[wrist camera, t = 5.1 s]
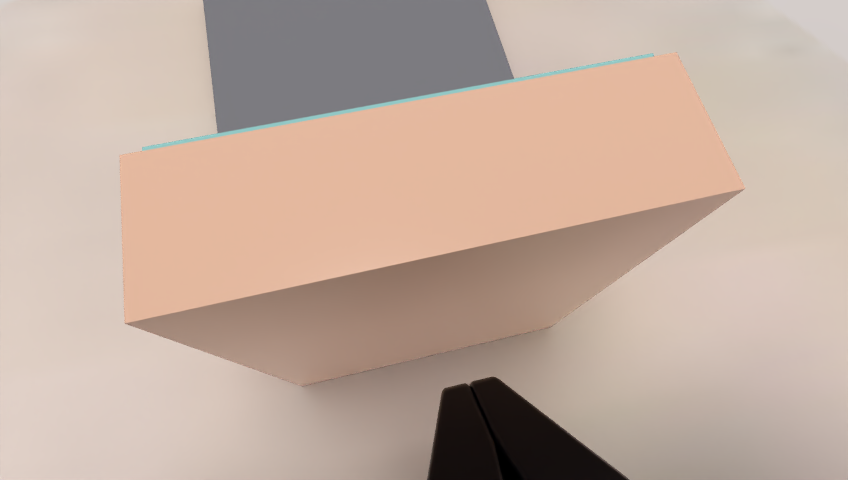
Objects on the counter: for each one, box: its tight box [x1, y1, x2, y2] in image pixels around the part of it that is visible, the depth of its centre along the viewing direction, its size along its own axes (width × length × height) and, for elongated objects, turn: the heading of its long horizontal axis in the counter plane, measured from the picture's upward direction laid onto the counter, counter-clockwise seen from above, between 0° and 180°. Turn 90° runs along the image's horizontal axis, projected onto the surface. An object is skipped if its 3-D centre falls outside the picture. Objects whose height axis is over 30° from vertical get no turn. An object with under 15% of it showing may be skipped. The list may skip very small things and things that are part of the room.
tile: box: [120, 52, 745, 386], centre depth 11 cm, size 2×8×10 cm, turn 103°
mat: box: [203, 0, 514, 133], centre depth 18 cm, size 13×11×1 cm
